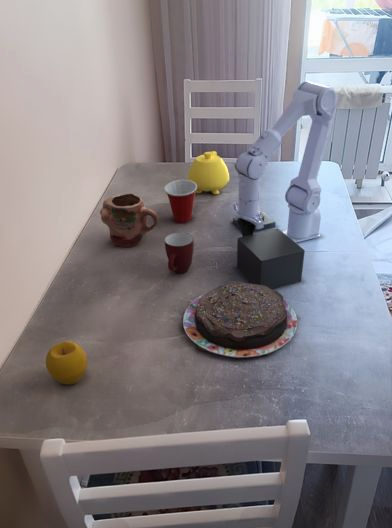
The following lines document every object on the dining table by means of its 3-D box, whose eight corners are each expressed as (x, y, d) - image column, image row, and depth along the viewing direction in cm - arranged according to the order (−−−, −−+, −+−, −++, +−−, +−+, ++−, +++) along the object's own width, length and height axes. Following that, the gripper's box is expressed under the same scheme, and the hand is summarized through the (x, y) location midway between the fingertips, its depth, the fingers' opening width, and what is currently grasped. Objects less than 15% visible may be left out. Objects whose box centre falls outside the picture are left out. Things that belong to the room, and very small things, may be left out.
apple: (55, 365, 108) (46, 335, 103) (93, 363, 108) (86, 333, 103) (47, 393, 101) (38, 362, 96) (88, 391, 102) (80, 360, 96)
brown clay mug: (168, 235, 156) (165, 195, 147) (154, 254, 146) (150, 211, 138) (111, 229, 161) (105, 189, 152) (95, 246, 151) (87, 205, 143)
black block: (236, 268, 139) (237, 237, 133) (275, 258, 142) (277, 228, 136) (259, 292, 128) (261, 261, 122) (301, 281, 132) (304, 250, 126)
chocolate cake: (164, 346, 112) (162, 324, 108) (204, 283, 133) (204, 262, 129) (283, 372, 104) (286, 349, 100) (306, 301, 125) (309, 279, 121)
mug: (187, 284, 133) (186, 252, 127) (160, 280, 135) (157, 249, 129) (198, 264, 141) (197, 233, 135) (172, 261, 143) (169, 231, 137)
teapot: (195, 175, 196) (194, 141, 187) (233, 177, 193) (234, 143, 184) (184, 195, 180) (182, 159, 172) (225, 198, 177) (225, 161, 169)
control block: (261, 215, 165) (262, 206, 163) (275, 226, 158) (275, 216, 156) (233, 222, 162) (233, 212, 159) (245, 233, 155) (245, 223, 153)
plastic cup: (161, 224, 162) (158, 190, 155) (174, 210, 170) (172, 178, 163) (191, 229, 159) (189, 194, 152) (203, 215, 167) (202, 181, 159)
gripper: (224, 190, 138) (224, 233, 146) (248, 210, 127) (246, 255, 136) (246, 186, 140) (245, 228, 148) (271, 205, 129) (268, 249, 138)
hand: (247, 240), depth 142 cm, fingers closed
